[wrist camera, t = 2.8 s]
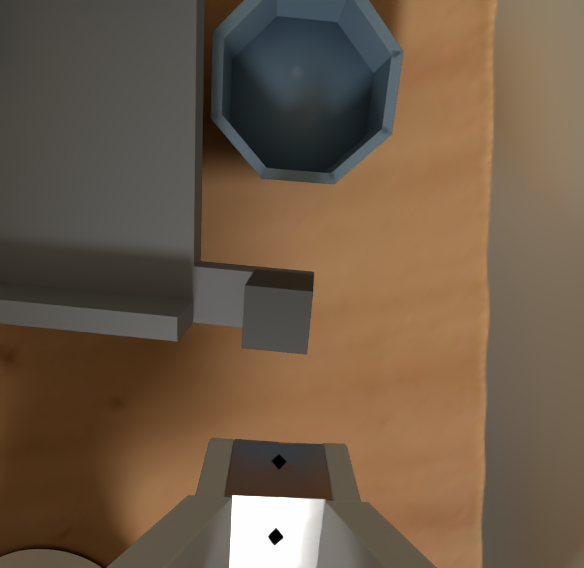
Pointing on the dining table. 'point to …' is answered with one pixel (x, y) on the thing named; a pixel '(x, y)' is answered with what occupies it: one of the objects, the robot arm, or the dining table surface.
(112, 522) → the dining table surface
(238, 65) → the cup
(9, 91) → the lever board
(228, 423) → the dining table surface
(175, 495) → the dining table surface
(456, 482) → the dining table surface
